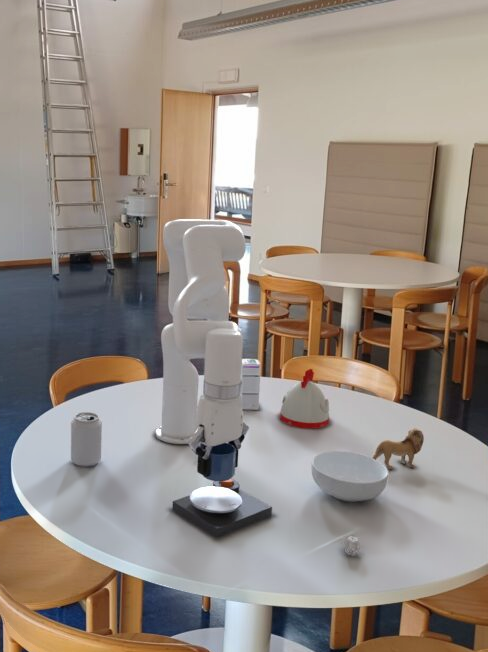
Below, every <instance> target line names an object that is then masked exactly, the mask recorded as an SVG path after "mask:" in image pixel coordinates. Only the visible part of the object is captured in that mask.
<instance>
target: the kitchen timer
mask: <svg viewBox="0 0 488 652" xmlns="http://www.w3.org/2000/svg"><path fill="white" fill-rule="evenodd" d="M314 374H315V372H314V369H313V368H309V369H307V370H305V372H304V375H303V376H302V380H301V381H298V382H296V383H295V384H294V385H292V387H291V388H290V389H289V390H288V391H287V392H286V394H285V395H283V399H282V402H281V403H282V404H281V408H280V412H279V414H280V415H279V418H280V420H281V421H282V422H283V423H284V424H287V425H289V426H292V427H296V428H301V429H321V428H324V427H326V426H328V425H329V421H330V406H329V402H330V401H329V398H326V397H325V395H324V393H323V391H322V389H321V388H320V387H319V386H318V385H317V384H316V383H315V382H314V381H313V380H314V376H315V375H314Z"/></svg>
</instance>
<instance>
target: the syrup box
mask: <svg viewBox="0 0 488 652" xmlns="http://www.w3.org/2000/svg"><path fill="white" fill-rule="evenodd" d="M241 381H242V385H241V386H240V394H241V398H242V407H243V410H248V411H249V410H250V411H253V410H254V411H258V410H259V407H260V406H259V405H260V404H259V403H260V391H261V390H260V389H261V362H260V360H259V359H257V358H242V367H241Z"/></svg>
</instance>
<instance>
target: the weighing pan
mask: <svg viewBox="0 0 488 652" xmlns="http://www.w3.org/2000/svg"><path fill="white" fill-rule="evenodd" d="M189 495H190V502H191V503H192V504H193V505H194V506H195V507H196V508H198V509H201V510H203V511H207V512H212V513H227V512H232V511H235V510H237V509H238V508H239V507H240V506H241V504H242V499H241V497H240V495H239V494H237V493H236V492H234V491H232V490H230V489H227V488H222V487H213V486H203V487H200V488H196V489H194V490H192V492H190V494H189Z"/></svg>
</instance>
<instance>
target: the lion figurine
mask: <svg viewBox="0 0 488 652" xmlns="http://www.w3.org/2000/svg"><path fill="white" fill-rule="evenodd" d="M424 440H425V436H424V433H423V431H422V430H420V429H417V428H413V429H410V430H408V433H407V435H406V436H405V438H404V439H403V440H401V441H392V440H383V441H381V442H380V443H379V444H378V446H377V447H376V450H375V452H374V455H373V456H372V458H373V459H375V460H378V458H379V457H381V456H382V455H383V456H384V461H383V463H384V464H385V465H384V466H385V467H386V468H387V470H393V469H394V467H393V466H392V465H390V460H391V458H392V456H396V457H401V458H400V463H401V464H406V463H407V466H408V467H409V468H412V469H413V468H414V467H415V465H414V464H413V461H414V459H415V455H416V454H418V453H419V452H421V449H422V447H423V445H424ZM406 456H407V457H408V462H407V461H406Z"/></svg>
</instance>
